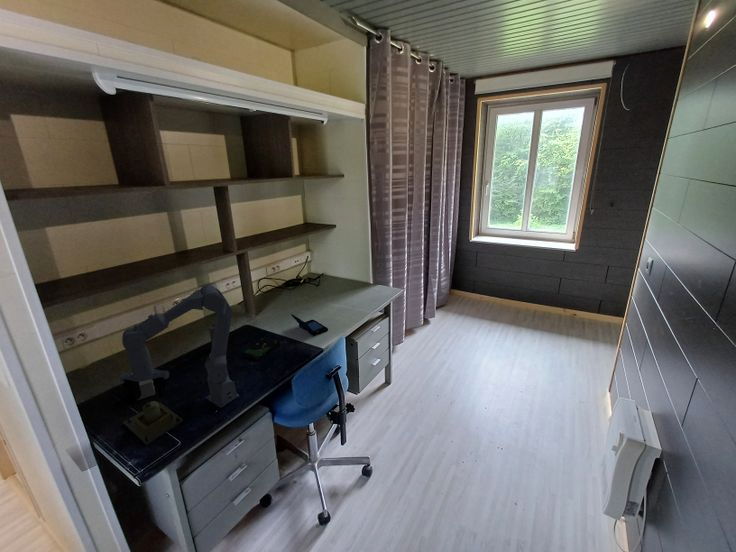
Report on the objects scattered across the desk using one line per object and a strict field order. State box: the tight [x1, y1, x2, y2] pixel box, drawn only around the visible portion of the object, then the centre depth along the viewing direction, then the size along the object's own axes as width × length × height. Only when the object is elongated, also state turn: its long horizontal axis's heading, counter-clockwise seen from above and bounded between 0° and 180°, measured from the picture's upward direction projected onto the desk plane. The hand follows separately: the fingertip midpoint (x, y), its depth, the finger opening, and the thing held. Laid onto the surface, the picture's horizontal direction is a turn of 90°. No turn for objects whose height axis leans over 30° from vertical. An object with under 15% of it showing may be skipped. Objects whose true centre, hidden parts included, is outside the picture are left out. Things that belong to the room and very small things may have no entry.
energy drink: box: [208, 323, 215, 344], centre depth 158 cm, size 5×5×12 cm
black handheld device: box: [290, 313, 329, 337], centre depth 175 cm, size 16×13×9 cm
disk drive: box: [242, 336, 281, 361], centre depth 157 cm, size 10×3×15 cm
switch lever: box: [141, 401, 162, 426], centre depth 113 cm, size 5×5×7 cm
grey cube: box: [136, 379, 156, 401], centre depth 129 cm, size 6×6×6 cm
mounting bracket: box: [122, 401, 184, 446], centre depth 114 cm, size 16×12×4 cm
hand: (150, 396), depth 112 cm, fingers open, 7 cm apart
